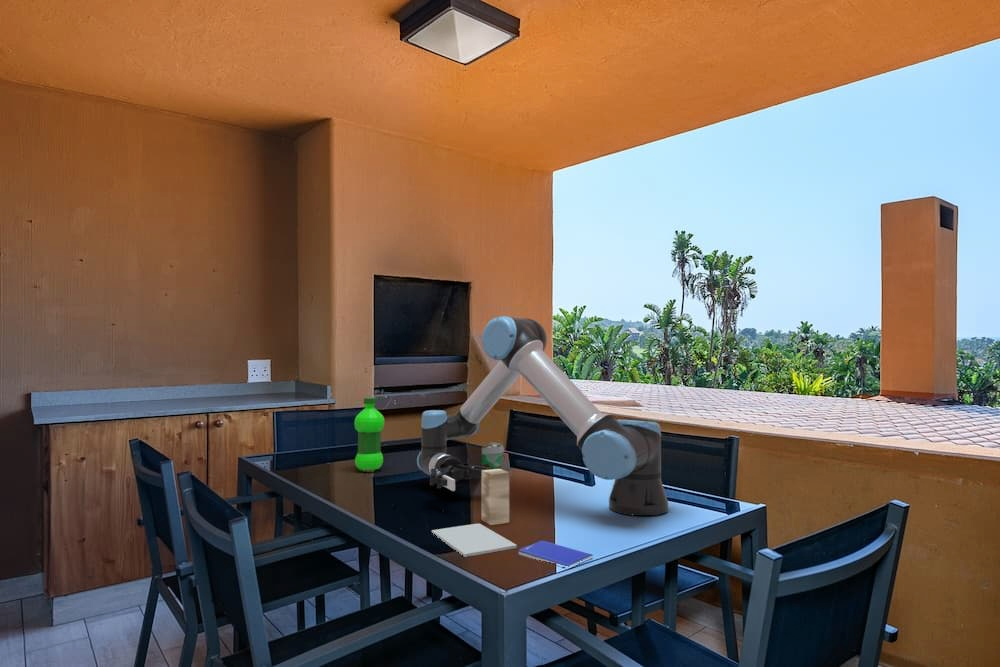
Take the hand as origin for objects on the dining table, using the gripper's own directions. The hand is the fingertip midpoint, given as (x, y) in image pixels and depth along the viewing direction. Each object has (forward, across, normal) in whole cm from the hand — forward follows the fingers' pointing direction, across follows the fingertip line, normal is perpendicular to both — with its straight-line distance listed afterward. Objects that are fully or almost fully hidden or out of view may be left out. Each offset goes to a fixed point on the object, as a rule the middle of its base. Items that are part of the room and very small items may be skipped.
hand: (478, 482), depth 152 cm
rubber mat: (+20, +11, -8) cm, 24 cm away
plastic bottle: (-65, +10, -8) cm, 66 cm away
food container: (-39, -25, -8) cm, 47 cm away
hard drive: (+37, +1, -8) cm, 38 cm away
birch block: (+9, 0, -8) cm, 12 cm away
